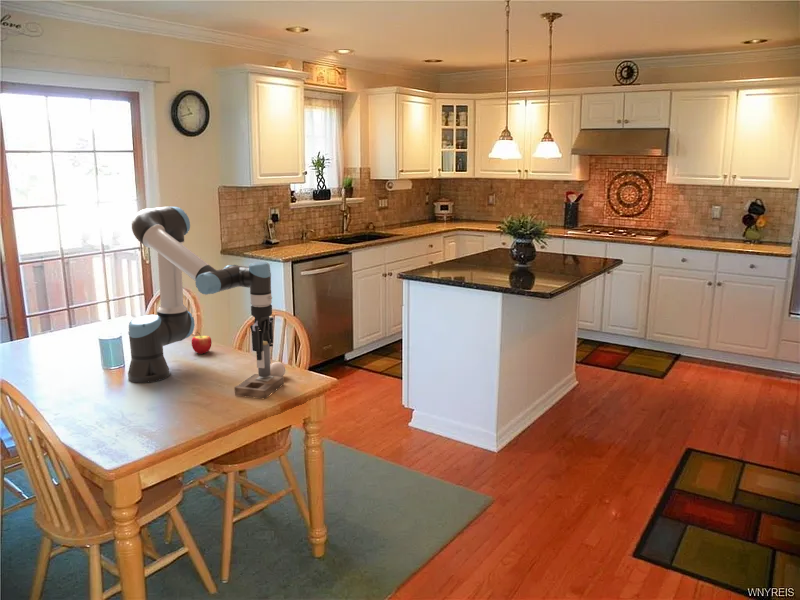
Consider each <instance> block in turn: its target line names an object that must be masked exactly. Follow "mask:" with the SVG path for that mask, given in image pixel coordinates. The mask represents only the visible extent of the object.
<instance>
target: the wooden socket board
mask: <svg viewBox="0 0 800 600" xmlns="http://www.w3.org/2000/svg"><path fill="white" fill-rule="evenodd" d="M284 381H285V379H284V376H282V377H279V376H268V377H260V376H259V374H258V373H254V374H252V375H251V376H250V377H248V378H247V379H245V380H244V381H241V383H239V384H237V385H236V386H235V387H234V396H238V397H245V396H246V397H245V398H253V397H255V398H256V399H262V398H264V399H263V400H265V398H266V397H267V398H269V397H270V396H271V395H272V394H274V393H275V392H276V391H277V390H279V389H280V388H281V387H282V386H283V385H282V384H284V385H285V383H284ZM281 385H282V386H281ZM280 386H281V387H280ZM279 387H280V388H279ZM278 388H279V389H278ZM276 389H277V390H276ZM275 390H276V391H275ZM274 391H275V392H274ZM271 393H272V394H271ZM270 394H271V395H270ZM269 395H270V396H269ZM267 398H266V399H267Z"/></svg>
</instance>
